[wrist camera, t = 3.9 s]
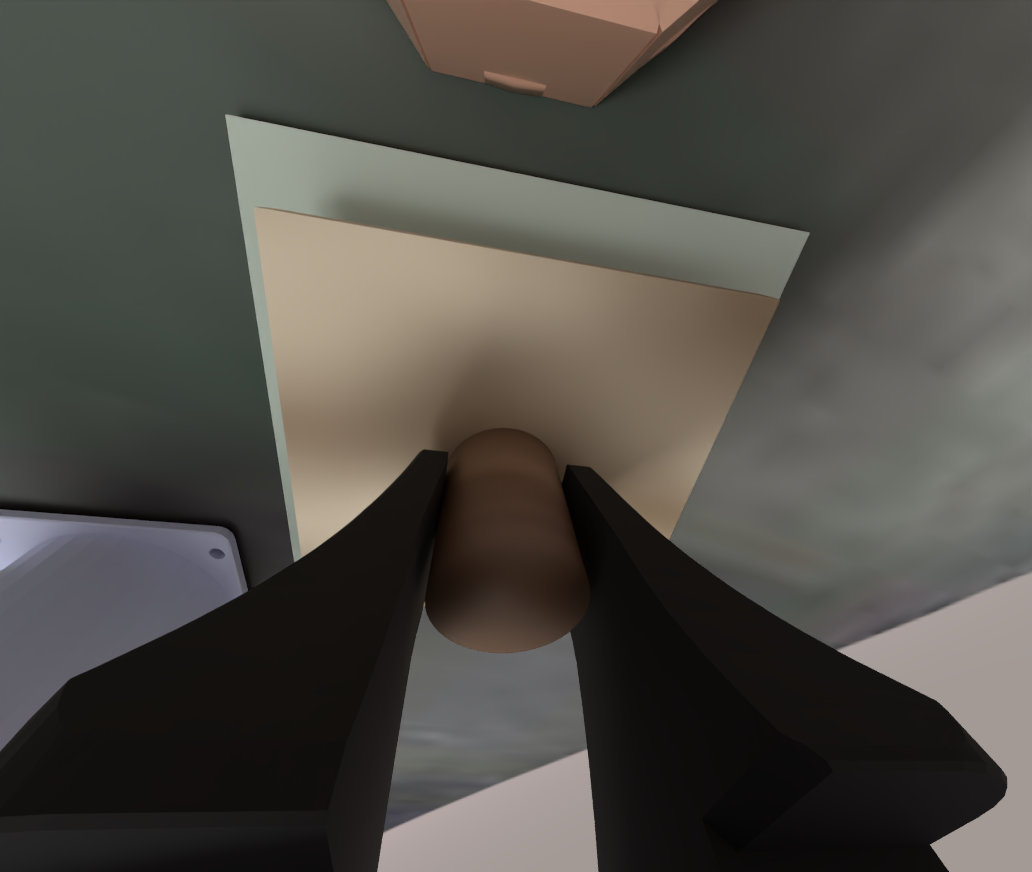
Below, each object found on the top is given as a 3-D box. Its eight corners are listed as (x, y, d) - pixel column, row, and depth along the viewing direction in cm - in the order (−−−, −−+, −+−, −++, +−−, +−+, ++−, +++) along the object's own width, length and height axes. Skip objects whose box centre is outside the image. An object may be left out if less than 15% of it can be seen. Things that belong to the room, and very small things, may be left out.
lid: (625, 598, 15) (680, 751, 10) (317, 580, 13) (236, 748, 9) (758, 293, 9) (977, 352, 5) (273, 207, 8) (30, 192, 4)
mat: (637, 588, 17) (640, 596, 17) (300, 565, 15) (296, 573, 15) (799, 232, 10) (809, 232, 10) (235, 119, 9) (225, 114, 8)
